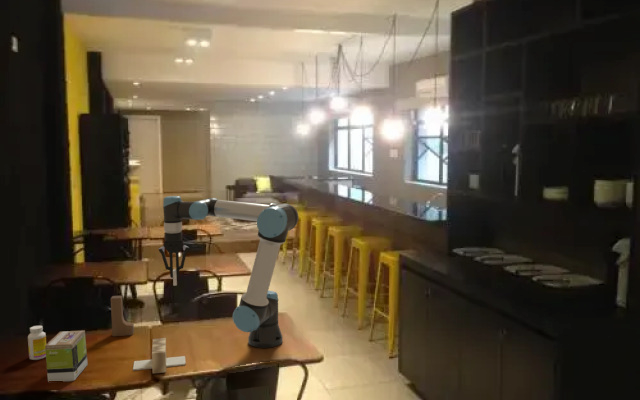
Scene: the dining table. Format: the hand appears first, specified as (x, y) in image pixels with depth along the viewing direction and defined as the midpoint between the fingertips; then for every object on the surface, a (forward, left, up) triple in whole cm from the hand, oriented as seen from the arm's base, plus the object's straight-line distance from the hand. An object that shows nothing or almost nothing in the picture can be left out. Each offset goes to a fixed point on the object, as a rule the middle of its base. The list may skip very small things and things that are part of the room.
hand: (175, 284), depth 241 cm
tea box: (+41, +22, -27) cm, 54 cm away
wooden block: (+24, -18, -27) cm, 40 cm away
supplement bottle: (+56, +1, -27) cm, 62 cm away
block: (+7, +16, -22) cm, 28 cm away
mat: (+7, +22, -26) cm, 35 cm away
